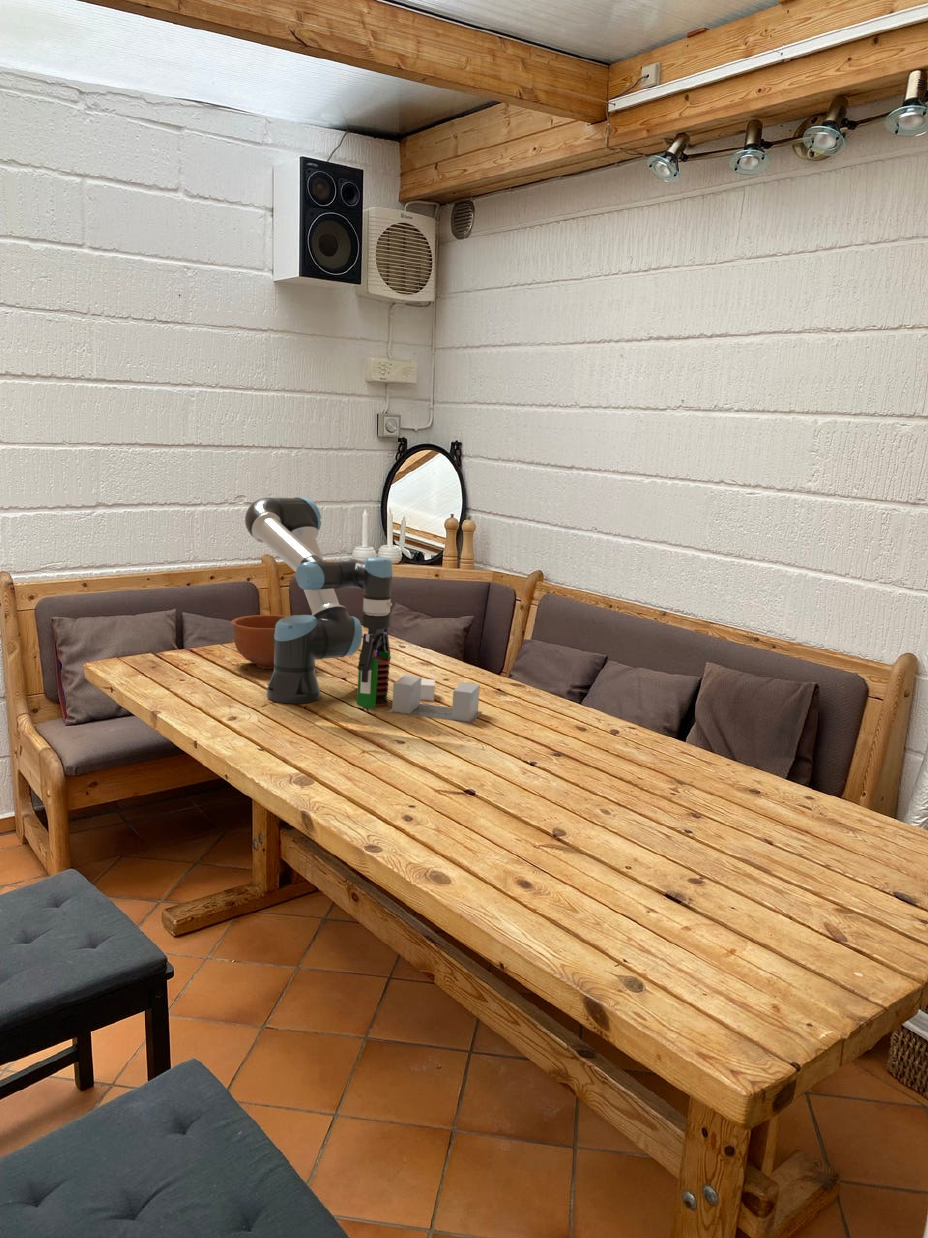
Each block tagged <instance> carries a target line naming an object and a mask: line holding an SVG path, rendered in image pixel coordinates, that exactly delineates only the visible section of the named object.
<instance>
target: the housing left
mask: <svg viewBox="0 0 928 1238" xmlns="http://www.w3.org/2000/svg"><path fill="white" fill-rule="evenodd" d="M421 679H423V678H422V677H421V676H413V675H402V676H401V677H400V678H398V679H397V680H396V681H394V682H393V684H392V686H393V687H392V689H393V690H392V707H391V709H392V711H394V712H401V713H409V714H410V713H411V712H412V711H413V710H414V709H415V708H417V707H418V706H419V705H420V704H421V700H420V695H421Z"/></svg>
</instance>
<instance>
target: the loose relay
mask: <svg viewBox="0 0 928 1238" xmlns="http://www.w3.org/2000/svg"><path fill="white" fill-rule="evenodd" d="M435 687H436V679H430V678H428V679H427V678H421V695H420V701H421V700H422V701H435Z"/></svg>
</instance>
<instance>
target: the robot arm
mask: <svg viewBox="0 0 928 1238" xmlns="http://www.w3.org/2000/svg"><path fill="white" fill-rule="evenodd" d="M244 516H245V517H244V523H245V527H246V530H247V532H248V533H249V534H250V536H251V537H253V539H254V540H256V541H257V542H258V543H264V544H265V545H266V546H267V547H268V548H269V549H270V550H271V551H272V552H274V553H275V555H277V556H278V557H279V558H280V559H281V560H282V561H283V562H284V563H285V564H286V565H288V567H289V568H291V570H293V571H294V572H295V580H296V581H295V582H296V583H297V585H298V587H299V588H300V589H301V590H303V592H304V594H305V598H306V599H307V602H308V605H309V608H310V609H309V610H310V611H311V614H300V615H299V614H294V615H293V614H292V615H287V616H288V617H285V618H282V619H280V620H279V621H278V622H277V623H276V626H275V634H274V639H275V644H274V669H273V672H272V675H271V678H270V680H269V683H268V686H267V689H266V698H267V699H268V700H270V701H272V702H276V703H282V704H293V705H295V704H307V703H313V702H316V701H319V699H320V697H321V689H320V685H319V681H318V678H317V674H316V672H315V670H316V661H317V660H326V659H335V658H346V657H349V656H353V655H354V654H355V653H357V652H358V651H359V650H360V647H361V650H360V653H361V655H360V654H359V657H360V660H358V665H357V670H358V671H359V670H361V684H360V693H365V694H370V690H371V670H370V667H371V664H372V660H373V657H374V653H375V650H376V651H382V652H389V653H390V654H391V649H390V647H391V646H390V642H389V641H390V640H389V632H388V631H389V628H390V626H391V625H390V624H391V614H389V613H391V607H393V603H392V602H391V599H392V585H393V584H392V581H393V575H394V574H393V561H392V560H391V559H390V558H387V557H381V556H370V557H369V556H368V557H366V559H365V561H362V560H359V559H352V558H351V559H350V558H346V559H344V560H343V561H342V560H341V561H338V560H337V561H324V558H323V556H322V553H321V549H320V547H319V544H318V541H317V538H318V536H319V531H320V530H321V526H322V521H321V519H322V515H321V512H320V509H319V507H318V506H317V504H316V503H315V502H314V501H313V500H311V499H309V498H303V497H297V496H296V497H262V498H259V499H257V500H255V501H253V502H252V504H250V505H249V506H248V509H246V513H245V515H244ZM349 588H350V589H351V588H358V589H362V590H363V600H362V601H363V604H362V611H363V614H362V624H361V621H360V619H358V618H357V617H355V616H351V615H350V614H349V612H348V610H347V608H346V607H345V606H344V605H341V604H340V602H339V599H338V596H337V594H336V592H335V589H349ZM363 628H365V629H367V633H364V634H363ZM361 644H362V645H361ZM391 657H392V656H391V655H390V660H391Z"/></svg>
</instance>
